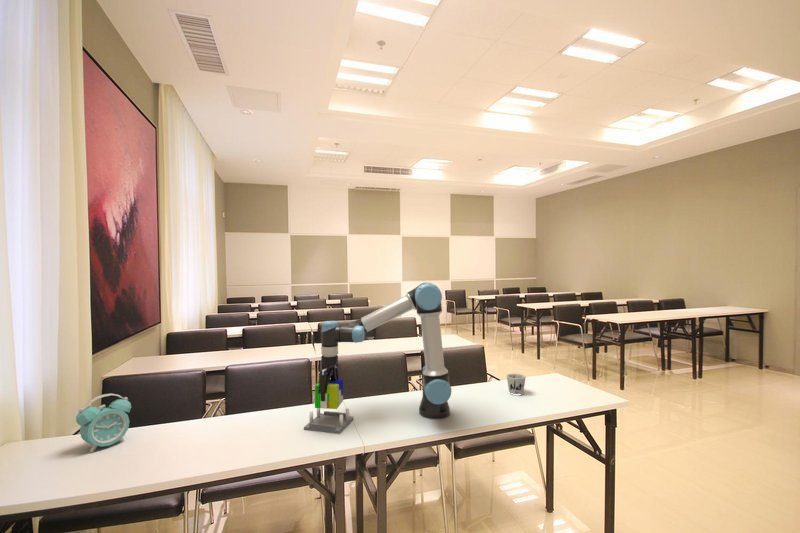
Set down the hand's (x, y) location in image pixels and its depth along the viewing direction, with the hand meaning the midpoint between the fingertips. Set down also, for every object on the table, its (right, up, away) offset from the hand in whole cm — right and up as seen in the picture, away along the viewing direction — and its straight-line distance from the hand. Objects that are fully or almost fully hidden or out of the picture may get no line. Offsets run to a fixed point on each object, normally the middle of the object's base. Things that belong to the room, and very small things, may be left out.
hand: (329, 403), depth 165 cm
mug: (+99, -10, +44) cm, 109 cm away
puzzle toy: (0, -1, 0) cm, 1 cm away
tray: (0, -9, 0) cm, 9 cm away
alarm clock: (-87, -9, -19) cm, 89 cm away
